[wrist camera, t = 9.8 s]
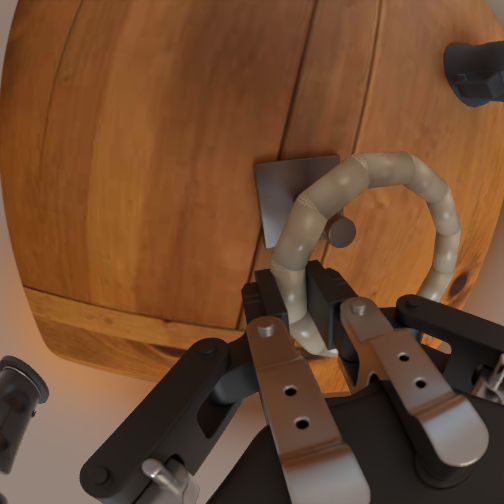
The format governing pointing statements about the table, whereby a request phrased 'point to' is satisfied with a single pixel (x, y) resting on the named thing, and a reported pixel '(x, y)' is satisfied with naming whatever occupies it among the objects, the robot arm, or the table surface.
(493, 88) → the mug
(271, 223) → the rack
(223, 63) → the table surface
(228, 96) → the table surface
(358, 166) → the ring
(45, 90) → the table surface
